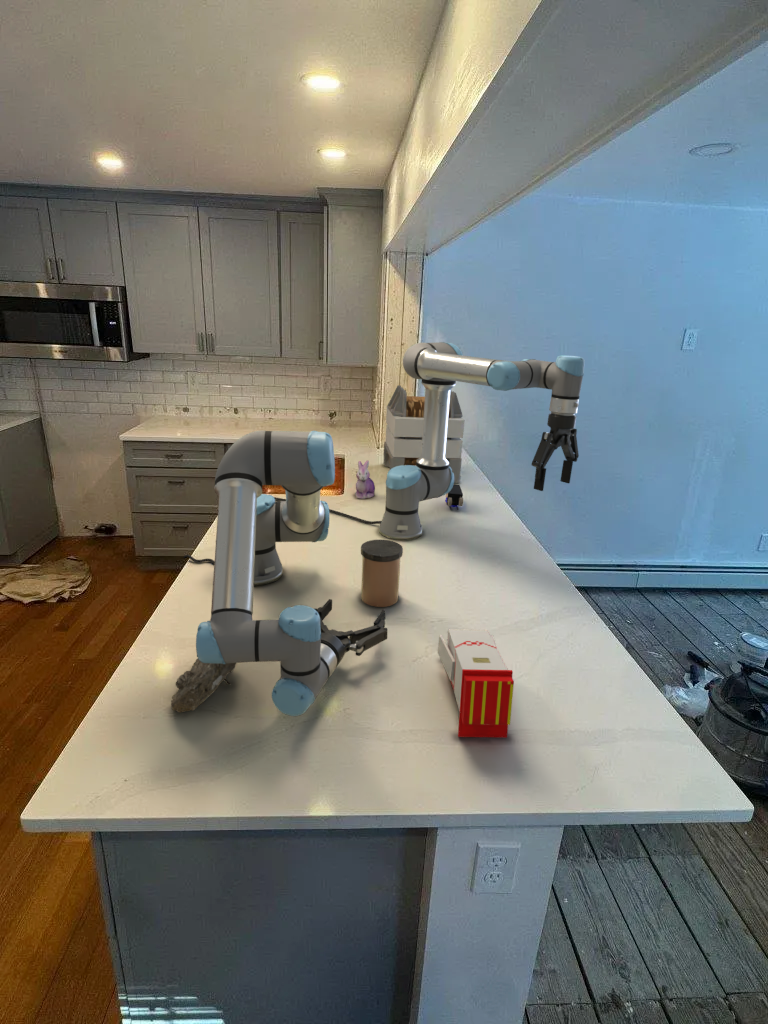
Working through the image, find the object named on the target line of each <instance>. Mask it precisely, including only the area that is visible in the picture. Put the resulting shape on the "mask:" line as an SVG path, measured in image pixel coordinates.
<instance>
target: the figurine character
mask: <svg viewBox="0 0 768 1024" xmlns="http://www.w3.org/2000/svg"><path fill="white" fill-rule="evenodd" d="M463 496H464V493H463V490H462V488H461V485H460V484H457V483H454V484H453V487H452V489H451V490H450V491H449V492H448V493H447V494H445V499H444V502H445V503H446V505H447V506H448V507H449V510H450V511H452V510H453V509H452V508H456V510H457V511H459V510H460V508H459V507H463V505H464V498H463Z"/></svg>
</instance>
